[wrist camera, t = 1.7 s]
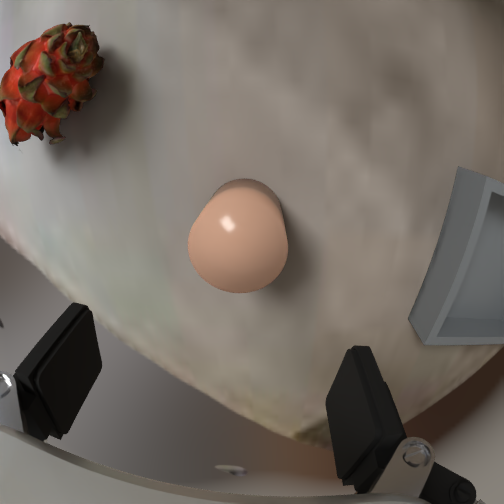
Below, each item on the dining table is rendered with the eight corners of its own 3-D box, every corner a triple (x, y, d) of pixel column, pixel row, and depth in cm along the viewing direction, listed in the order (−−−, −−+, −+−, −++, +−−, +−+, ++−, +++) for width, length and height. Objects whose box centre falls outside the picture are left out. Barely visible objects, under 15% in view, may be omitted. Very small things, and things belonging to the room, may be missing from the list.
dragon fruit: (133, 37, 20) (62, 130, 25) (62, -7, 14) (-1, 98, 19) (124, 68, 16) (44, 185, 21) (25, 11, 9) (-36, 149, 14)
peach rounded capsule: (211, 174, 23) (191, 194, 17) (287, 184, 24) (296, 208, 17) (204, 244, 26) (185, 285, 19) (275, 254, 26) (278, 298, 20)
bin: (458, 166, 22) (486, 176, 18) (545, 205, 22) (569, 218, 18) (408, 318, 28) (423, 345, 24) (500, 322, 29) (517, 342, 25)
